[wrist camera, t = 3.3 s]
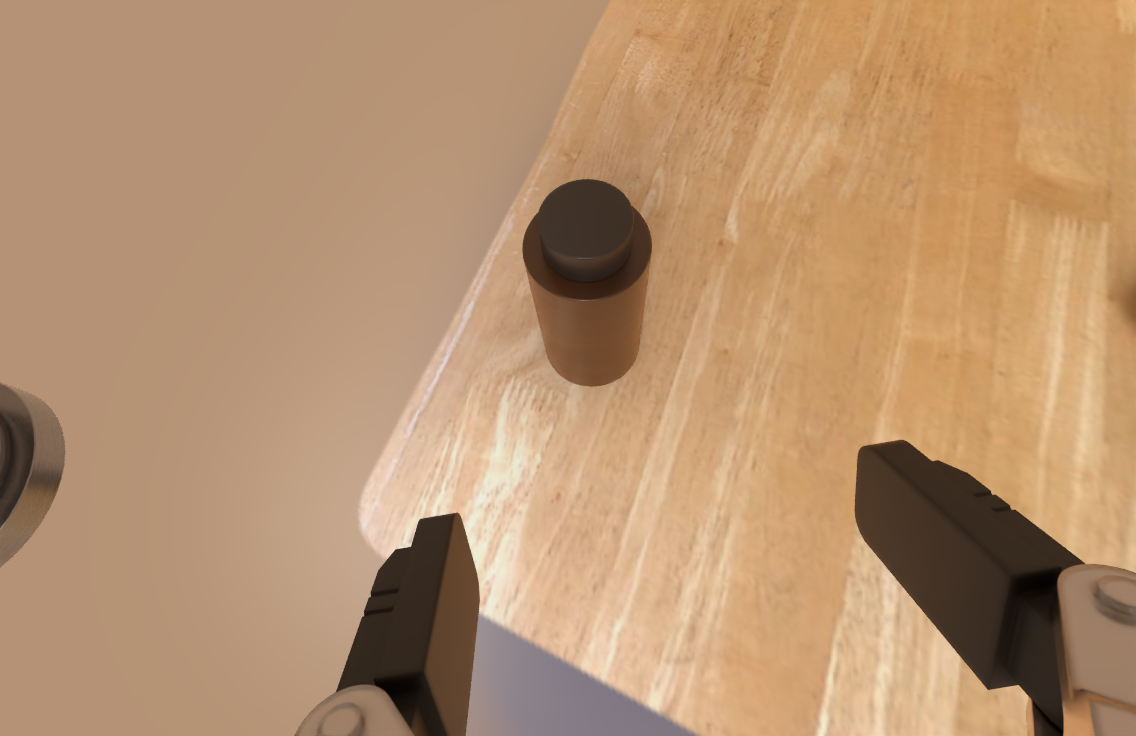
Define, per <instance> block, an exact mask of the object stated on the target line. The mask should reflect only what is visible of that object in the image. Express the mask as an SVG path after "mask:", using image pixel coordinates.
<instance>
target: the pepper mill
mask: <svg viewBox="0 0 1136 736" xmlns="http://www.w3.org/2000/svg"><path fill="white" fill-rule="evenodd" d="M522 251H523V259H524V263H525V267H526V271H527V275H528V279H529V283H530V287H531V291H532V295H533V299H534V303H535V308H536V312H537V316H538V320H539V324H540V328H541V332H542V336H543V340H544V344H545V348H546V352H547V356H548V359H549V361H550V363H551V365H552V366H553V368H554V369H555V370H556V371H557V372H558V373H559V374H560V375H561V376H562V377H564V378H565V379H567V380H568V381H570V382H573V383H575V384H579V385H583V386H600V385H605V384H608V383H611V382H613V381H615V380H617V379H619V378H620V377H622V376H623V375H624V374H625V373H626V372H627V371H628V370H629V369H630V368H631V366H632V365H633V363H634V361H635V359H636V357H637V354H638V349H639V342H640V335H641V327H642V320H643V312H644V305H645V297H646V290H647V282H648V275H649V267H650V260H651V252H652V239H651V234H650V231H649V228H648V226H647V224H646V222H645V220H644V219H643V217H642V216H641V215H640V213H639V212H638V211H637V210H636V209H635V208H634V207H632V206H631V204H630V202H629V200H628V199H627V197H626V196H625V195H624V194H623V193H622V192H621V191H620V190H619V189H617V188H616V187H614V186H612V185H611V184H608V183H606V182H603V181H599V180H591V179H583V180H576V181H572V182H568V183H566V184H563V185H561V186H559V187H558V188H556V189H555V190H553V191H552V192H551V193H550V194H549V195H548V196H547V197H546V198H545V200H544V201H543V203H542V205H541V207H540V209H539V212H538V213H537V214H536V215H535V216H534V218H533V219H532V221H531V222H530V224H529V226H528V228H527V230H526V232H525V235H524V240H523V250H522Z"/></svg>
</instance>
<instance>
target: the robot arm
mask: <svg viewBox="0 0 1136 736" xmlns="http://www.w3.org/2000/svg"><path fill="white" fill-rule="evenodd" d="M9 460H10V437H9V432H8V430H7V427H6V424H5V422H4V421H3V419H2V418H1V416H0V489H1V487H2V485H3V482H4V480H5V477H6V473H7V470H8V466H9ZM855 518H856V522H857V526H858V528H859V531H860V533H861V535H862V537H863V539H864V540H865V542H866V543H867V544H868V545H869V547H870V548H871V549H872V550H873V552H874V553H875V554H876V555H877V556H878V558H879V559H880V560H881V561H882V562H883V564H884V565H885V566H886V567H887V568H888V570H889V571H890V572H891V573H892V574H893V576H894V577H895V578H896V579H897V580H898V582H899V583H900V584H901V585H902V587H903V588H904V589H905V590H906V591H907V593H908V594H909V595H910V596H911V597H912V599H913V600H914V601H915V602H916V603H917V605H918V606H919V607H920V608H921V609H922V611H923V612H924V613H925V614H926V615H927V617H928V618H929V619H930V620H931V622H932V623H933V624H934V625H935V626H936V628H937V629H938V630H939V631H940V632H941V634H942V635H943V636H944V637H945V638H946V640H947V641H948V642H949V643H950V644H951V646H952V647H953V648H954V649H955V650H956V652H957V653H958V654H959V655H960V657H961V658H962V659H963V660H964V661H965V663H966V664H967V665H968V666H969V667H970V669H971V670H972V671H973V672H974V673H975V675H976V676H977V677H978V678H979V679H980V681H981V682H982V683H983V684H984V685H985V687H986V688H987V689H988V690H990V689H996V688H1002V687H1008V686H1014V685H1019V686H1020V687H1021V688H1022V689H1023V690H1024V691H1025V693H1026V694H1027V695H1028V696H1029V699H1028V703H1027V707H1026V720H1027V735H1028V736H1136V573H1134V572H1131V571H1128V570H1125V569H1121V568H1117V567H1112V566H1107V565H1098V564H1085V563H1084V562H1083V561H1081V560H1080V559H1079V558H1077V557H1076V556H1075V555H1074V554H1072V553H1071V552H1070V551H1068V550H1067V549H1066V548H1064V547H1063V546H1062V545H1061V544H1059V543H1058V542H1057V541H1055V540H1054V539H1053V538H1051V537H1050V536H1049V535H1048V534H1046V533H1045V532H1044V531H1042V530H1041V529H1040V528H1038V527H1037V526H1036V525H1035V524H1033V523H1032V522H1031V521H1029V520H1028V519H1027V518H1025V517H1024V516H1023V515H1021V514H1020V513H1019V512H1018V511H1016V510H1011V508H1010V505H1008V504H1007V503H1006V502H1005V501H1003V500H1002V499H1001V498H999V497H998V496H997V495H992V494H991V491H990V490H989V489H988V488H986V487H985V486H984V485H982V484H981V483H980V482H979V481H977V480H976V479H975V478H973V477H972V476H971V475H969V474H968V473H966V472H964V471H961V470H959V469H957V468H954V467H952V466H950V465H948V464H945V463H943V462H941V461H939V460H937V461H931V460H930V459H928V458H927V457H926V456H925V455H924V454H922V453H921V452H920V451H919V450H917V449H916V448H915V447H914V446H912V445H911V444H910V443H908V442H907V441H905V440H897V441H891V442H885V443H879V444H873V445H867V446H863V447H861V449H860V450H859V453H858V459H857V477H856V494H855ZM479 602H480V596H479V583H478V577H477V572H476V568H475V565H474V561H473V557H472V554H471V550H470V547H469V543H468V539H467V536H466V532H465V529H464V525H463V522H462V519H461V516H460V515H459V513H453V514H447V515H441V516H435V517H429V518H423V519H420V520H419V522H418V525H417V528H416V532H415V535H414V539H413V542H412V546H411V547H408V548H402V549H396V550H395V551H394V552H393V553H392V554H391V556H390V557H389V558H388V559H387V561H386V562H385V563H384V564H383V565H382V567H381V568H380V569H379V570H378V573H377V576H376V579H375V581H374V585H373V587H372V590H371V597H370V598H369V599H368V602H367V604H366V607H365V610H364V617H362V619H361V622H360V625H359V628H358V630H357V633H356V636H355V639H354V642H353V645H352V648H351V651H350V653H349V656H348V659H347V662H346V665H345V668H344V671H343V674H342V677H341V679H340V682H339V685H338V688H337V691H336V693H334V694H333V695H331V696H329V697H328V698H326V699H325V700H324V701H322V702H321V703H320V704H318V705H317V706H316V708H314V709H313V710H312V711H311V712H310V713H309V714H308V716H307V717H306V718H305V719H304V721H303V722H302V723H301V725H300V726H299V728H298V730H297V732H296V734H295V736H465V735H466V726H467V717H468V707H469V698H470V688H471V679H472V670H473V660H474V651H475V641H476V632H477V622H478V613H479Z"/></svg>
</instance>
